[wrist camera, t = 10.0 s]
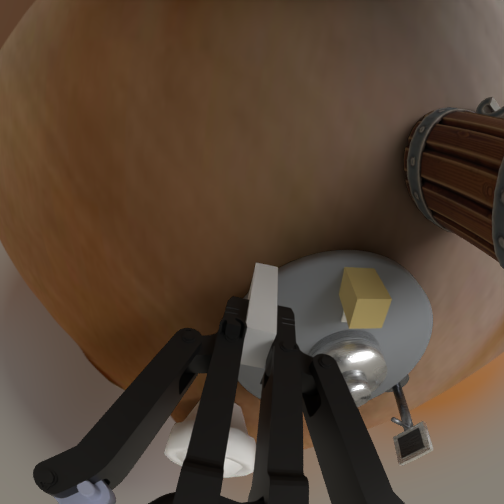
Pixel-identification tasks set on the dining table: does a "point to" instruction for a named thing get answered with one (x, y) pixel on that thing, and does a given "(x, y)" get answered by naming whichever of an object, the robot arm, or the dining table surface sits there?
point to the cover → (355, 361)
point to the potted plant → (238, 445)
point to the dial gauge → (409, 430)
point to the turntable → (354, 308)
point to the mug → (461, 173)
